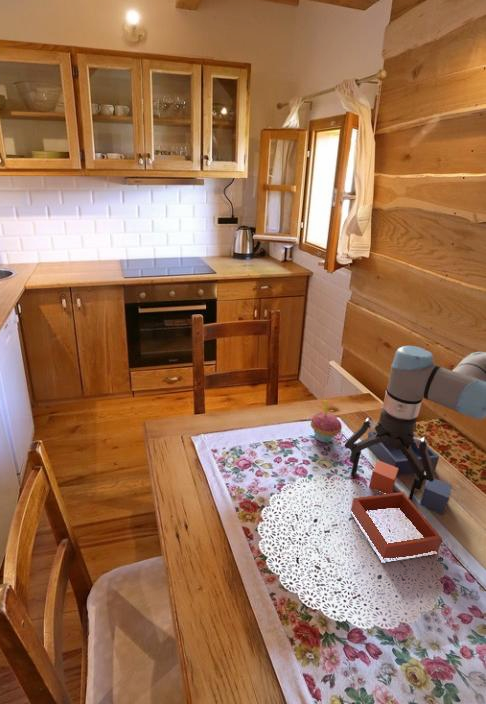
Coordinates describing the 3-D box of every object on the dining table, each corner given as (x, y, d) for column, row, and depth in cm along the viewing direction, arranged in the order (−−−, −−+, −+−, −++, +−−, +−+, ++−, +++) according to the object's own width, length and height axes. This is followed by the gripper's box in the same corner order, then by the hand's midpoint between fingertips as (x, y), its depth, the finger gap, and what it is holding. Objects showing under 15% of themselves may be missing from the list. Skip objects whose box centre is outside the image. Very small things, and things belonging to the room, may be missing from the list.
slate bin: (435, 471, 106) (439, 457, 104) (392, 476, 103) (395, 461, 102) (405, 440, 118) (408, 427, 116) (365, 444, 115) (368, 431, 113)
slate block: (445, 501, 96) (451, 484, 94) (443, 515, 92) (449, 498, 90) (422, 492, 99) (427, 475, 97) (419, 505, 95) (424, 488, 93)
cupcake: (303, 430, 120) (308, 395, 115) (328, 426, 122) (334, 392, 118) (318, 449, 112) (324, 412, 108) (345, 444, 114) (352, 408, 110)
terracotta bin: (437, 554, 82) (442, 538, 81) (381, 564, 80) (386, 547, 78) (399, 506, 94) (403, 491, 92) (349, 513, 91) (353, 498, 90)
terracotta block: (394, 484, 101) (398, 468, 99) (390, 496, 97) (394, 480, 95) (373, 475, 103) (377, 459, 101) (368, 487, 99) (372, 471, 98)
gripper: (340, 400, 96) (327, 471, 103) (460, 441, 83) (434, 519, 91) (350, 387, 102) (336, 456, 109) (462, 424, 89) (438, 498, 97)
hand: (381, 485), depth 100 cm, fingers open, 13 cm apart
